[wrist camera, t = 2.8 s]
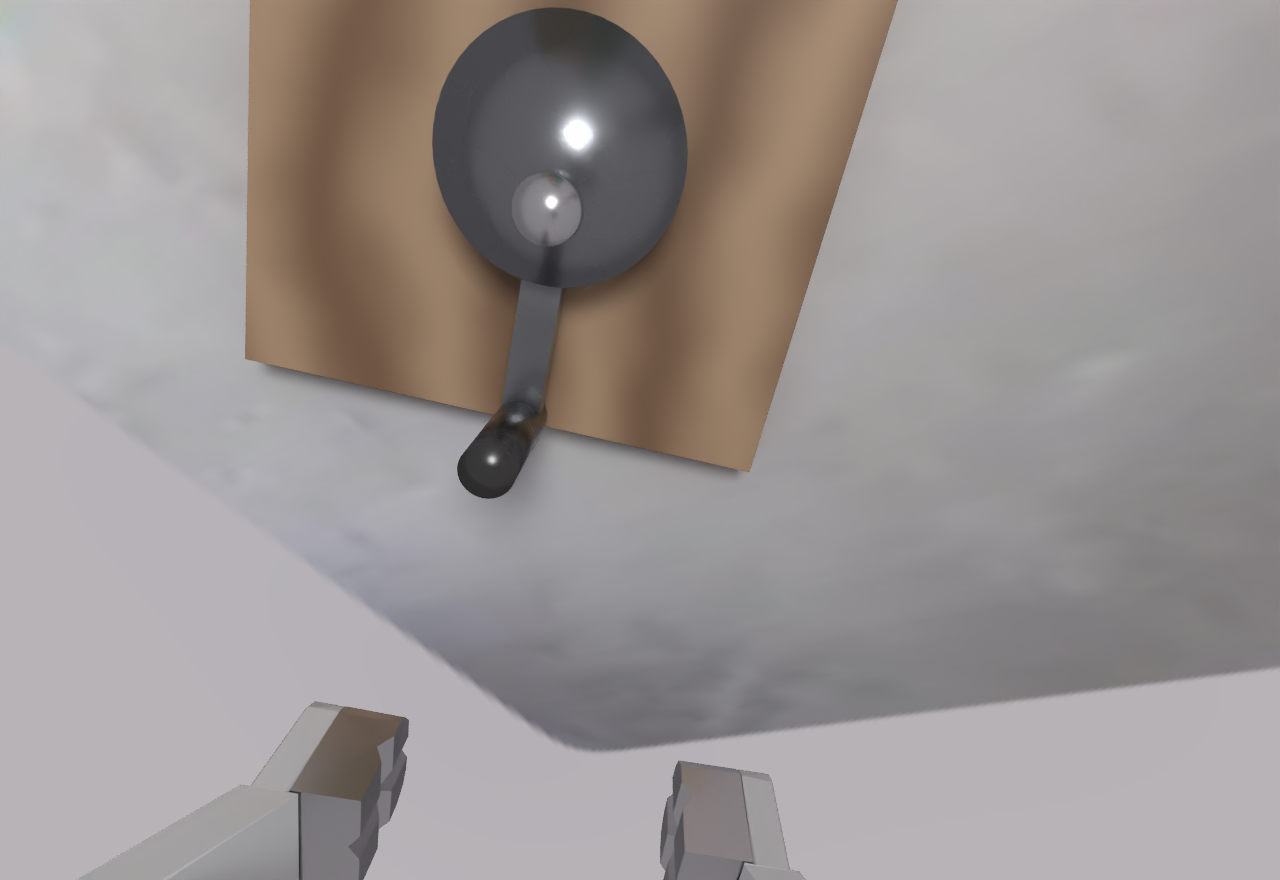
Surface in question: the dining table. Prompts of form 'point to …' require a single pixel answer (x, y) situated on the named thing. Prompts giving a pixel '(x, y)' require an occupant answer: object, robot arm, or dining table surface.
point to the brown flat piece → (488, 296)
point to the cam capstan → (553, 186)
